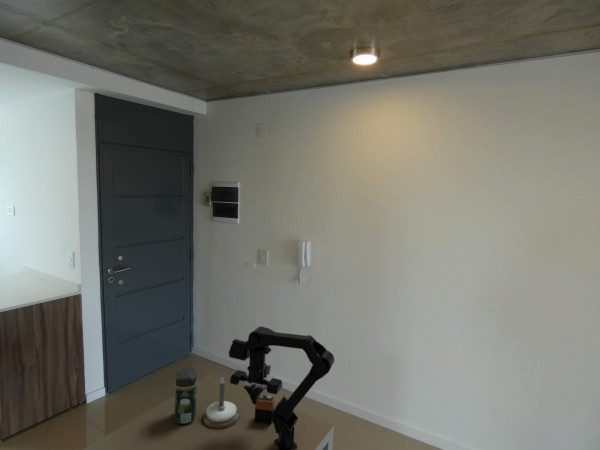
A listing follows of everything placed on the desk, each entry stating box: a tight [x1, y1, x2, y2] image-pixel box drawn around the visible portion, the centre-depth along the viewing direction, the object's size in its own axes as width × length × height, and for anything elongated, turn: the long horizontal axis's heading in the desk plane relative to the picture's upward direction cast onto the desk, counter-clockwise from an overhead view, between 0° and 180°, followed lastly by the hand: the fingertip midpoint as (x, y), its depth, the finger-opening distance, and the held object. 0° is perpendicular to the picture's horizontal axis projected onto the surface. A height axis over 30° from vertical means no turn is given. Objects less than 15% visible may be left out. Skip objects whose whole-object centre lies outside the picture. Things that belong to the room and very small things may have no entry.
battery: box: [254, 394, 275, 425], centre depth 139 cm, size 4×7×10 cm, turn 84°
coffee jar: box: [173, 367, 198, 425], centre depth 137 cm, size 10×8×19 cm
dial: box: [205, 377, 237, 422], centre depth 139 cm, size 12×12×12 cm
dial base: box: [202, 407, 240, 430], centre depth 139 cm, size 14×14×2 cm
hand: (254, 404), depth 129 cm, fingers closed
